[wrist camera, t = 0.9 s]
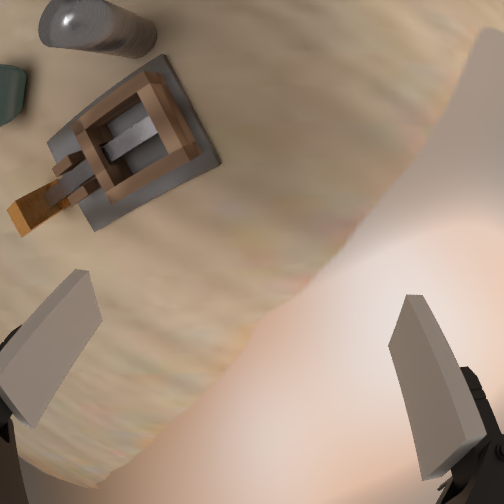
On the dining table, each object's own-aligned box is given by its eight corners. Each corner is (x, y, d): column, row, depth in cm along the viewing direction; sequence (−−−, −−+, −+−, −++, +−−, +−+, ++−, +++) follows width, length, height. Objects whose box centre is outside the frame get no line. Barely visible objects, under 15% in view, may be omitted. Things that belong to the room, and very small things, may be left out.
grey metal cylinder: (112, 35, 27) (32, 18, 14) (147, 11, 25) (76, -22, 13) (127, 66, 29) (48, 59, 16) (164, 43, 27) (95, 18, 15)
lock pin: (47, 187, 36) (6, 209, 28) (160, 105, 30) (123, 109, 23) (60, 211, 37) (21, 237, 30) (176, 136, 32) (143, 148, 24)
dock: (52, 140, 33) (23, 149, 28) (165, 55, 28) (143, 48, 23) (98, 228, 38) (75, 247, 33) (221, 163, 33) (209, 175, 28)
